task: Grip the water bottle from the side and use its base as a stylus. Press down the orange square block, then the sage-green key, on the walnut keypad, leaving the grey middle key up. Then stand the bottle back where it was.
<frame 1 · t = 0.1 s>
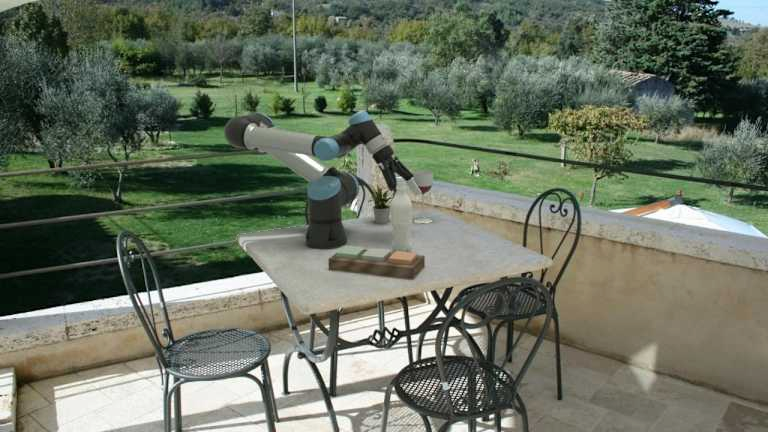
hand: (413, 198, 221), 15 cm above the table, tool tilted 35°, fingers open, 13 cm apart
orange square block: (403, 259, 192), point 4 cm above the table, slide at 0.0 cm
house plant: (378, 222, 249), on the table
water bottle: (401, 253, 210), on the table
wineglass: (423, 221, 249), on the table
key middle: (376, 257, 195), point 4 cm above the table, slide at 0.0 cm
keypad: (376, 267, 196), on the table
key sage: (350, 254, 199), point 4 cm above the table, slide at 0.0 cm
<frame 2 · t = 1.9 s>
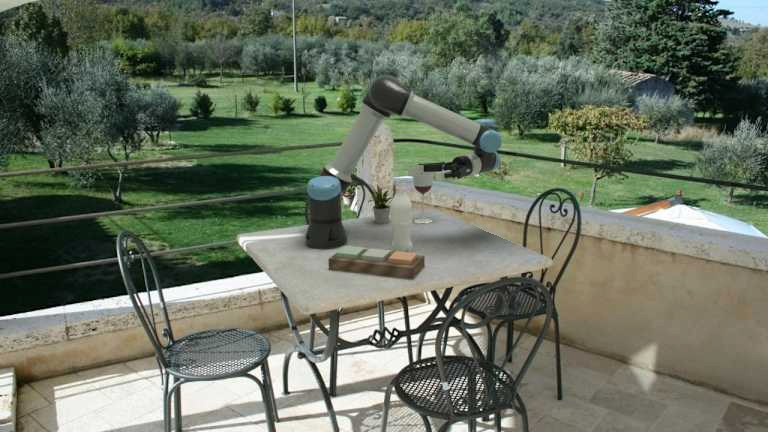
hand: (422, 174, 209), 26 cm above the table, tool horizontal, fingers open, 13 cm apart
nothing on the table moved.
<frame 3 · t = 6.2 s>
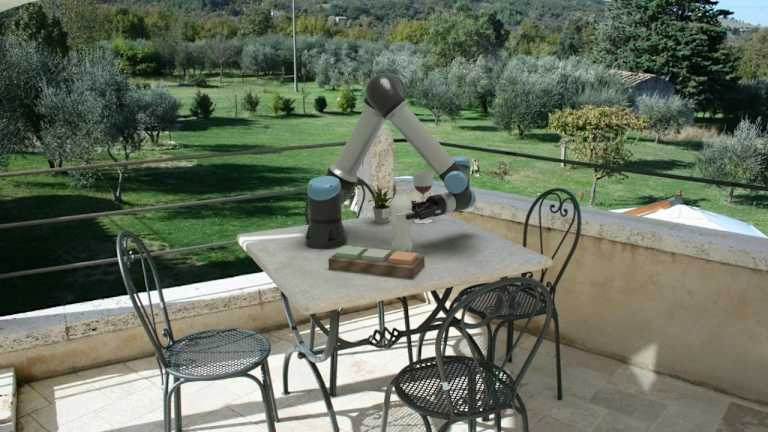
hand: (390, 216, 203), 14 cm above the table, tool horizontal, fingers closed on water bottle, 7 cm apart
water bottle: (401, 253, 210), on the table, touching gripper
everything else where it was.
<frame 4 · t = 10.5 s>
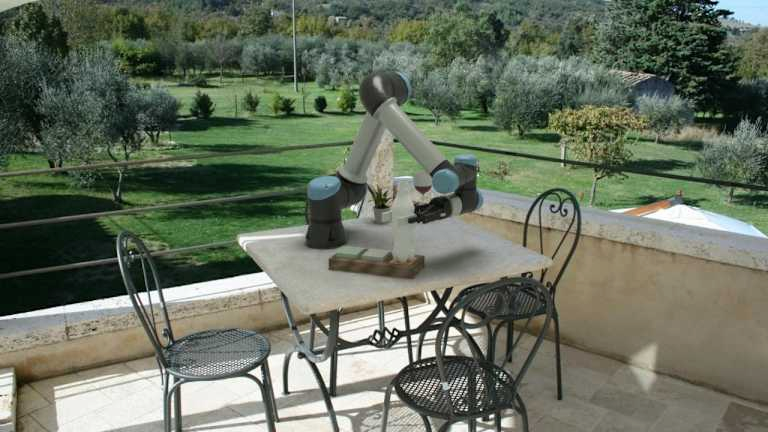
hand: (390, 220, 186), 18 cm above the table, tool horizontal, fingers closed on water bottle, 7 cm apart
orange square block: (403, 264, 193), point 2 cm above the table, slide at 1.5 cm, touching water bottle
water bottle: (403, 260, 192), point 3 cm above the table, touching gripper, orange square block
everything else where it was.
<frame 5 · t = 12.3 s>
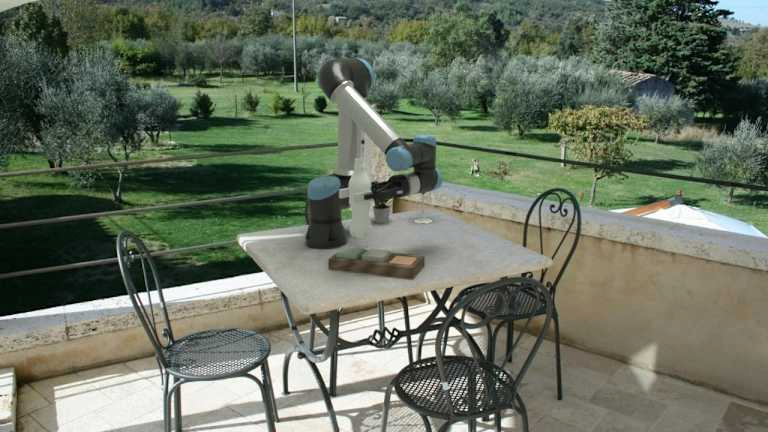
hand: (347, 196, 188), 24 cm above the table, tool horizontal, fingers closed on water bottle, 7 cm apart
orange square block: (403, 264, 193), point 2 cm above the table, slide at 1.5 cm
water bottle: (360, 237, 195), point 10 cm above the table, touching gripper
everything else where it was.
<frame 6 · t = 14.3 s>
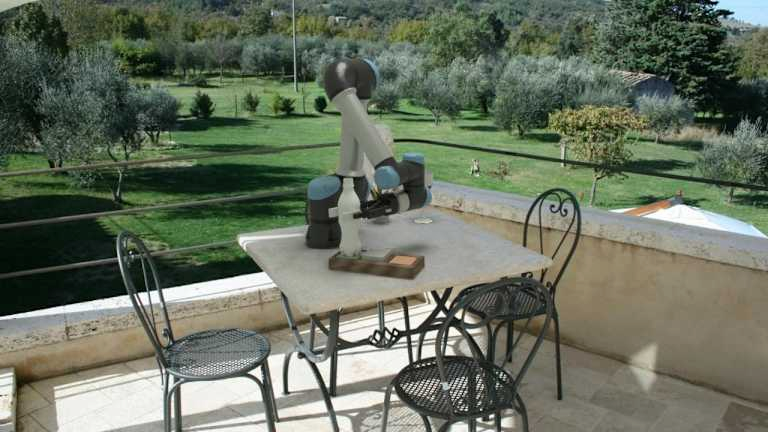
hand: (336, 215, 192), 18 cm above the table, tool horizontal, fingers closed on water bottle, 7 cm apart
water bottle: (350, 255, 199), point 3 cm above the table, touching gripper, key sage
key sage: (350, 258, 199), point 2 cm above the table, slide at 1.5 cm, touching water bottle
everything else where it was.
when the fingers open (15 cm above the table, at t = 18.3 s): water bottle drops 1 cm, on the table.
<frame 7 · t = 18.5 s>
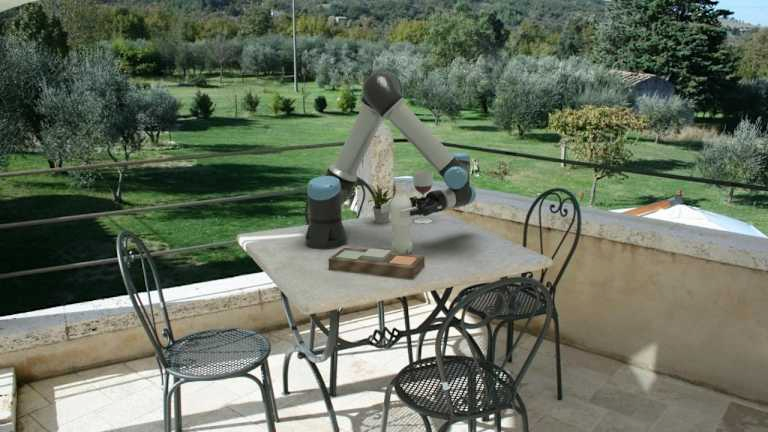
hand: (391, 211, 203), 15 cm above the table, tool horizontal, fingers open, 9 cm apart
water bottle: (402, 253, 210), on the table
key sage: (350, 258, 199), point 2 cm above the table, slide at 1.5 cm
everything else where it was.
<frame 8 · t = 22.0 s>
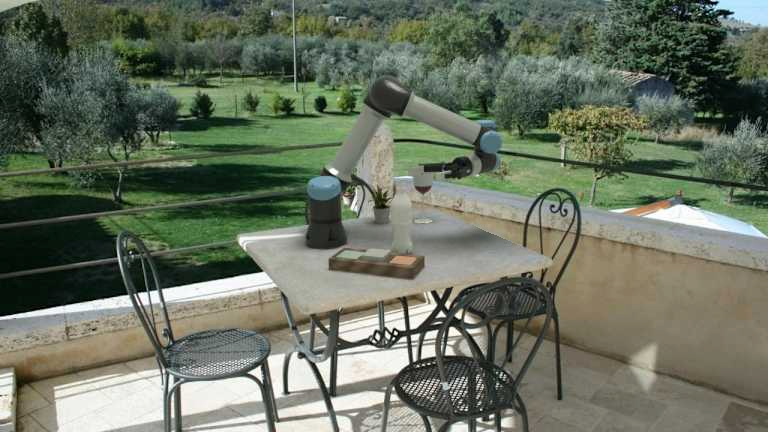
hand: (422, 174, 209), 26 cm above the table, tool horizontal, fingers open, 13 cm apart
nothing on the table moved.
at the end: orange square block slide at 1.5 cm; key sage slide at 1.5 cm; key middle slide at 0.0 cm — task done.
